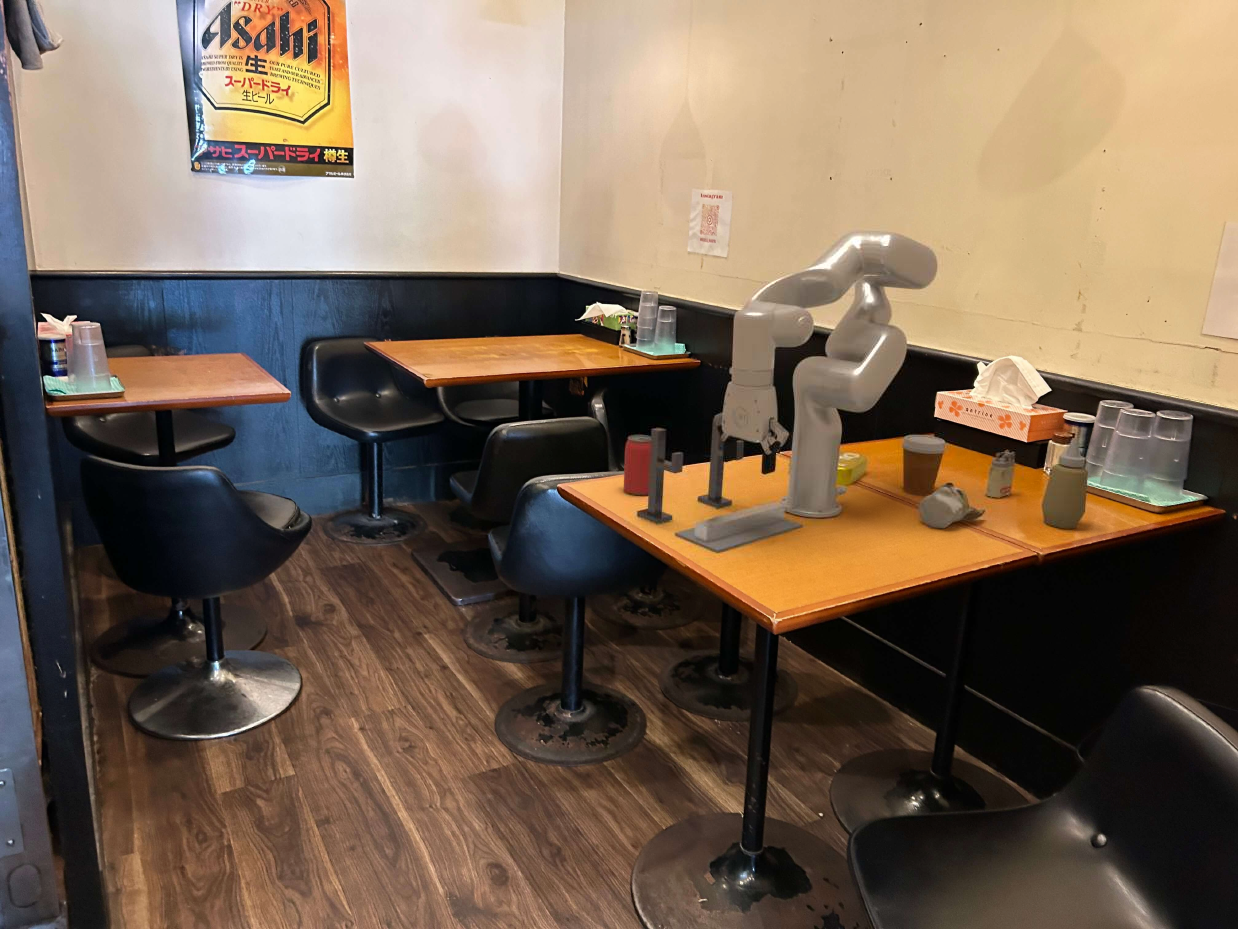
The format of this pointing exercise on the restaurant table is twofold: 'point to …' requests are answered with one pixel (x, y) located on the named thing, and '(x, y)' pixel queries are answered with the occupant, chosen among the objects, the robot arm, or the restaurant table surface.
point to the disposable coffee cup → (921, 463)
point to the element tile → (849, 468)
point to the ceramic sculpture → (947, 507)
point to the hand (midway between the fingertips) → (748, 466)
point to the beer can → (637, 465)
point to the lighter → (1001, 475)
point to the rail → (739, 521)
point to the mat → (741, 535)
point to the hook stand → (675, 466)
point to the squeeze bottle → (1066, 490)
